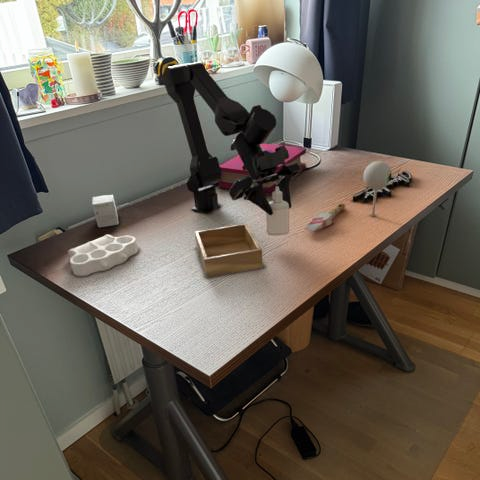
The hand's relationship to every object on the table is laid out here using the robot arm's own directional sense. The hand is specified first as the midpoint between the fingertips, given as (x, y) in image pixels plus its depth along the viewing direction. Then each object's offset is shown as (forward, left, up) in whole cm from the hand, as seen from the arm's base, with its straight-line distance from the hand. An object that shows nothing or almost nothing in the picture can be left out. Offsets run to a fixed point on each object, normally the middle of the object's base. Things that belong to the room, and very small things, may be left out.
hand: (281, 211), depth 114 cm
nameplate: (+10, +47, -10) cm, 49 cm away
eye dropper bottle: (-1, +1, -6) cm, 7 cm away
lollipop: (+14, +27, -10) cm, 32 cm away
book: (-31, +42, -10) cm, 53 cm away
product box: (-54, -9, -10) cm, 56 cm away
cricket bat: (+4, +18, -10) cm, 21 cm away
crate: (-9, -11, -10) cm, 17 cm away
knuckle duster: (-38, -26, -10) cm, 47 cm away
